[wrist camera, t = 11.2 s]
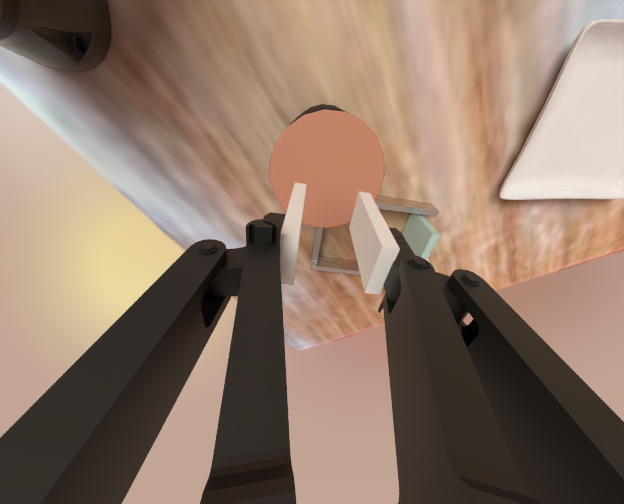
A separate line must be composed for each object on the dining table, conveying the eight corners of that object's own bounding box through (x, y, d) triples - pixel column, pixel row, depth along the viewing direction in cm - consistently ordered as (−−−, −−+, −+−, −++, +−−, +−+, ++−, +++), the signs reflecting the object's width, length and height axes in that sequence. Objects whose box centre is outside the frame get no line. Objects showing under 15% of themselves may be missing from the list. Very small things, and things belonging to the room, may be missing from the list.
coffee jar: (364, 164, 37) (394, 208, 22) (305, 187, 39) (296, 240, 24) (346, 90, 31) (370, 83, 16) (278, 122, 33) (246, 141, 19)
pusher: (388, 264, 48) (404, 302, 39) (412, 209, 41) (438, 241, 32) (394, 264, 48) (411, 303, 39) (418, 210, 41) (446, 242, 32)
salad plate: (609, 192, 39) (632, 200, 36) (485, 193, 39) (498, 201, 36) (744, 21, 26) (794, 12, 24) (561, 27, 27) (588, 18, 24)
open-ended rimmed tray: (310, 259, 48) (310, 269, 45) (322, 188, 39) (322, 195, 36) (399, 269, 49) (404, 280, 46) (430, 203, 40) (439, 211, 37)
